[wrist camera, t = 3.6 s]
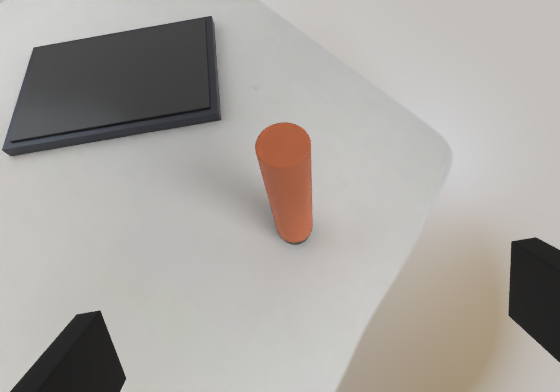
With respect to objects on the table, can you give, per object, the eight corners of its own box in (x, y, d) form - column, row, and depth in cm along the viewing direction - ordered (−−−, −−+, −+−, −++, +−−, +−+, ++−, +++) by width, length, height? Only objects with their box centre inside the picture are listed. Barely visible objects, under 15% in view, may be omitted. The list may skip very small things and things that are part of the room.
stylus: (309, 212, 26) (305, 117, 16) (315, 244, 25) (315, 162, 15) (275, 218, 26) (252, 126, 16) (280, 250, 25) (257, 172, 15)
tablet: (214, 24, 38) (211, 14, 36) (221, 120, 31) (217, 111, 30) (39, 54, 38) (32, 45, 37) (10, 156, 31) (-1, 148, 30)
